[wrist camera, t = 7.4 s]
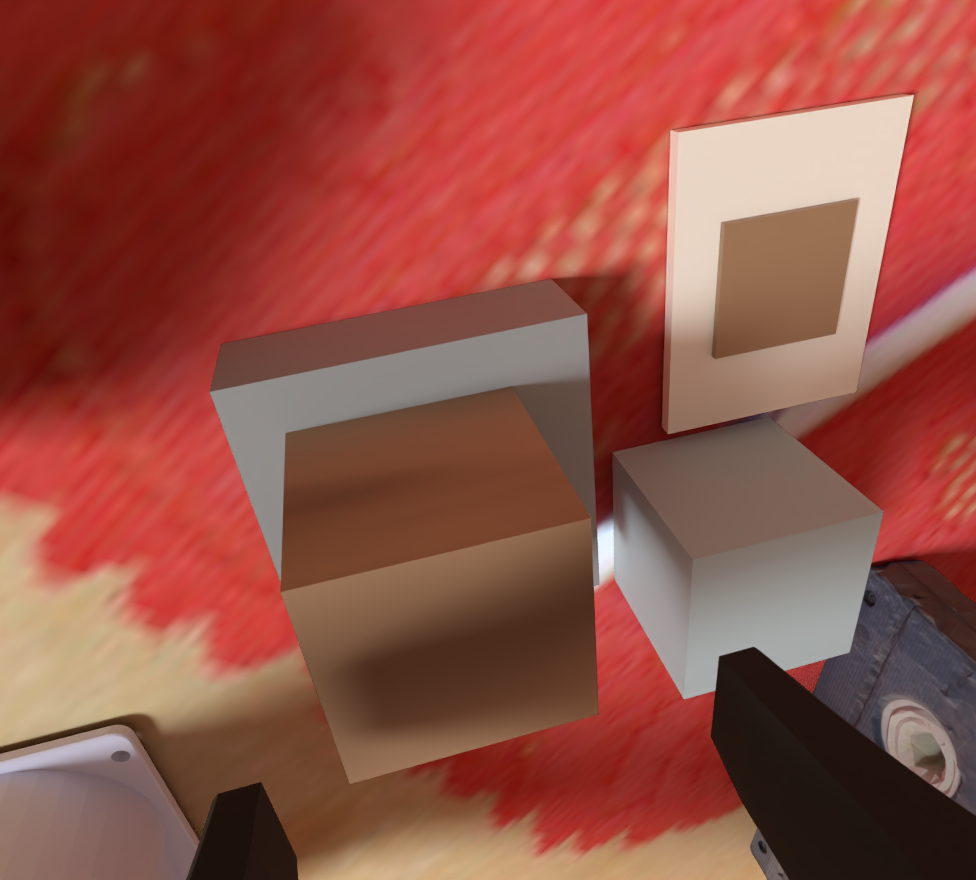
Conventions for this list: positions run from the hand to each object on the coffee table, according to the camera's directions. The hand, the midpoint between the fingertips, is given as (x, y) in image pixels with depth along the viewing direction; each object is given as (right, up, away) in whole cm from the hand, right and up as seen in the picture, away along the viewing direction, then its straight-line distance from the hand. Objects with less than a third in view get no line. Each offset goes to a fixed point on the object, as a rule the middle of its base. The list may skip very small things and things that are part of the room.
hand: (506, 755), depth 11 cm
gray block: (+6, +3, +11) cm, 13 cm away
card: (+7, +9, +8) cm, 14 cm away
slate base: (-2, +5, +8) cm, 10 cm away
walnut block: (-2, +4, +6) cm, 7 cm away
